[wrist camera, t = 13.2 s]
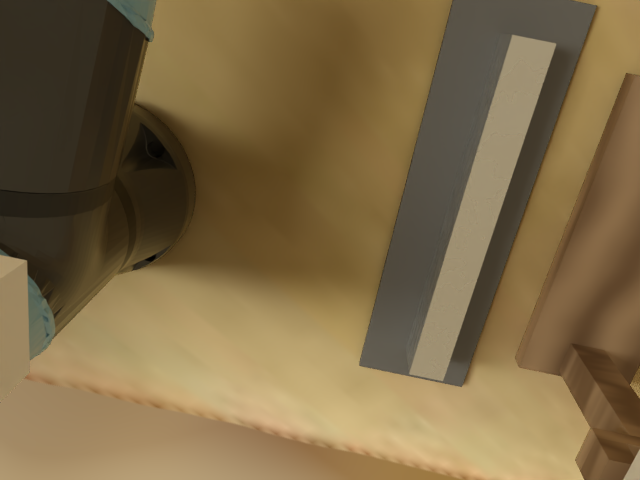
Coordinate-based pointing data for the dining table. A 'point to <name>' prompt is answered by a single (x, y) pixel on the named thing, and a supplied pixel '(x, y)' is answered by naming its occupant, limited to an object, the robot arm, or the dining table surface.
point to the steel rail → (477, 198)
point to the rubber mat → (444, 161)
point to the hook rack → (598, 298)
